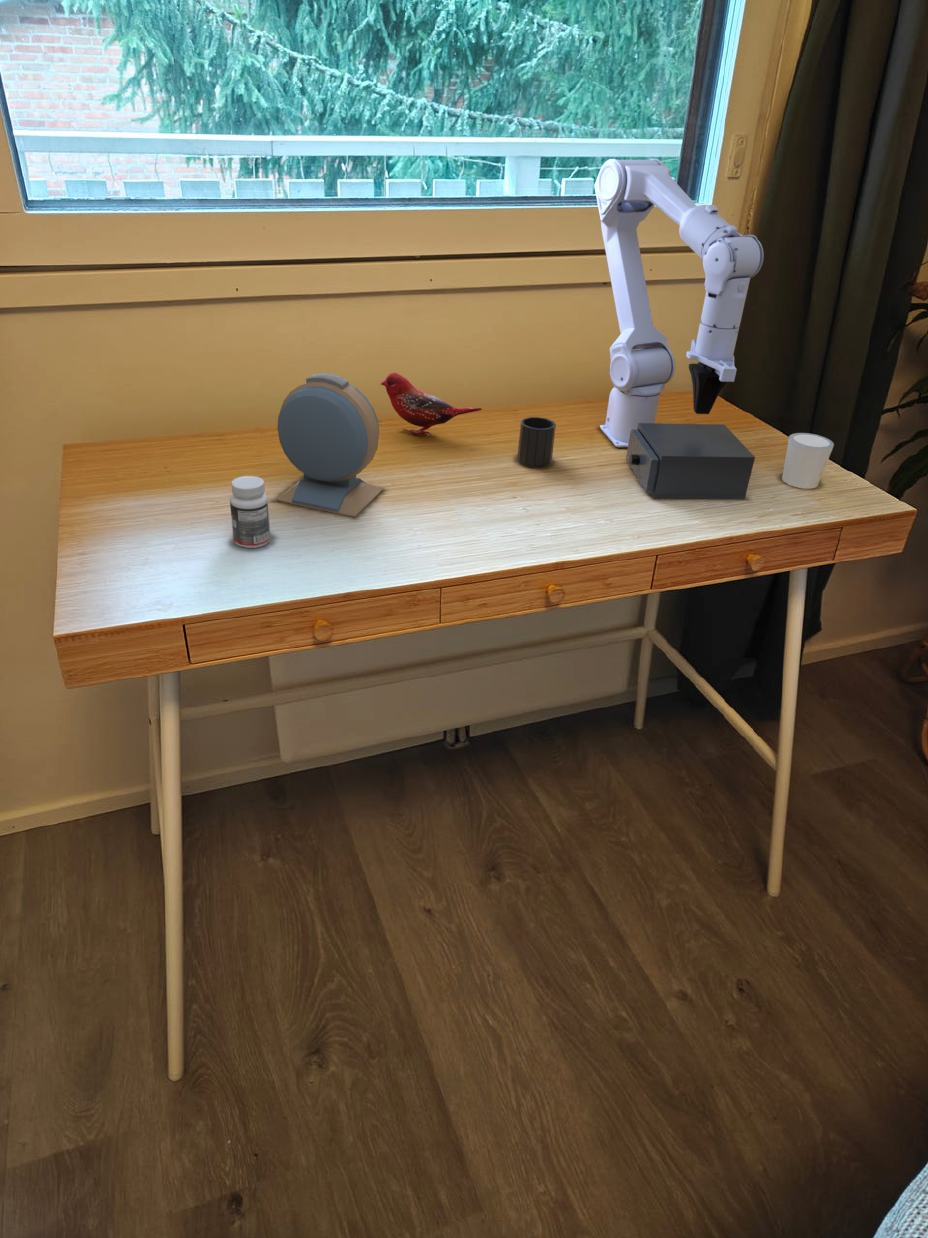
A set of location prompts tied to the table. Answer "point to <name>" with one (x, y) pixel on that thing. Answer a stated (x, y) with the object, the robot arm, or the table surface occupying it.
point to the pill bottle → (249, 512)
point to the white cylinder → (806, 459)
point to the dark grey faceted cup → (536, 442)
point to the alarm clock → (329, 444)
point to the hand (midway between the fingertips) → (701, 412)
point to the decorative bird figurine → (419, 404)
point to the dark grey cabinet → (698, 461)
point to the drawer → (642, 460)
